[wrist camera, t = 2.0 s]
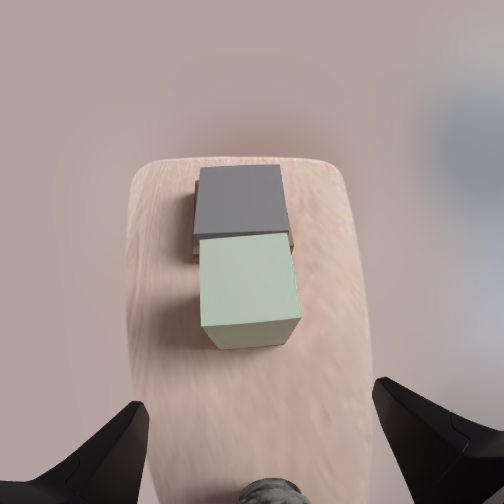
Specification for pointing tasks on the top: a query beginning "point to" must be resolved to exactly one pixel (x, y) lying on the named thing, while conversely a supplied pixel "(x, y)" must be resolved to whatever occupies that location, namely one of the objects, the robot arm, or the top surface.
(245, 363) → the top surface
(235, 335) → the sage green block
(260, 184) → the charcoal top slab
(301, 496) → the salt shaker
